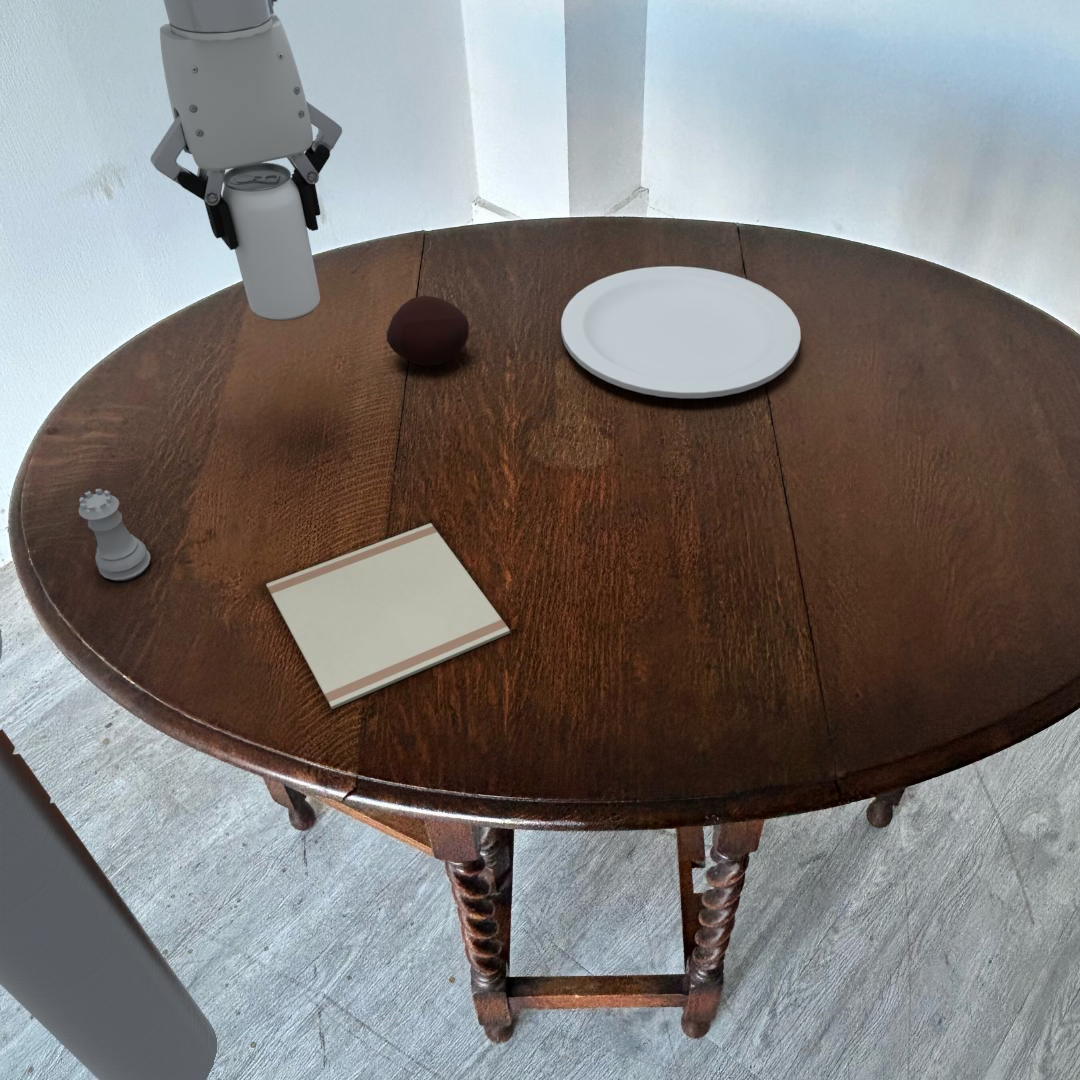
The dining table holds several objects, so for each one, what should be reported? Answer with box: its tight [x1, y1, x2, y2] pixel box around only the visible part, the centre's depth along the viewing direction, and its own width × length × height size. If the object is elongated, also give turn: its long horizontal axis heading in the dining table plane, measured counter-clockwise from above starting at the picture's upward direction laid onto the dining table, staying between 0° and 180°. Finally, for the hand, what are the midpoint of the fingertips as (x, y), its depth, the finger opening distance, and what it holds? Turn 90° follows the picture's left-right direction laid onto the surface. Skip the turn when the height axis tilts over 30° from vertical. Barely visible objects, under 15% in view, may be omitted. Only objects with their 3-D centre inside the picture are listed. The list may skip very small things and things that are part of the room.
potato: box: [386, 295, 470, 367], centre depth 111 cm, size 8×9×8 cm
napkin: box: [265, 522, 511, 710], centre depth 86 cm, size 16×16×1 cm
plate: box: [560, 265, 802, 399], centre depth 116 cm, size 28×28×2 cm
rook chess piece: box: [77, 488, 152, 582], centre depth 86 cm, size 4×4×8 cm
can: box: [221, 162, 321, 322], centre depth 88 cm, size 6×6×12 cm
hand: (269, 232), depth 87 cm, fingers closed on can, 6 cm apart
